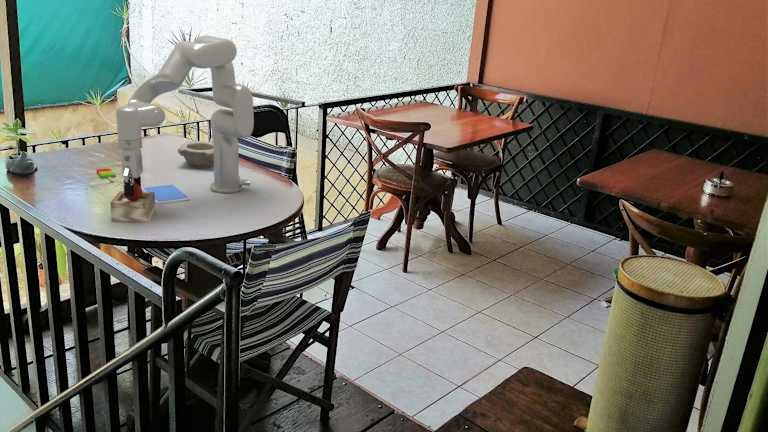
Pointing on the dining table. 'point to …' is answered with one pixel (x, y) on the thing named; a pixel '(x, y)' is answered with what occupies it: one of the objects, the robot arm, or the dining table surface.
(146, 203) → the wooden box
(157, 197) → the tablet computer
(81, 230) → the dining table surface
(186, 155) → the mortar
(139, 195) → the onion
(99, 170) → the popsicle
